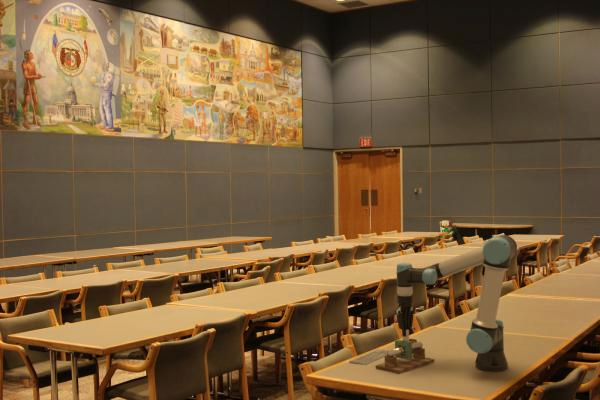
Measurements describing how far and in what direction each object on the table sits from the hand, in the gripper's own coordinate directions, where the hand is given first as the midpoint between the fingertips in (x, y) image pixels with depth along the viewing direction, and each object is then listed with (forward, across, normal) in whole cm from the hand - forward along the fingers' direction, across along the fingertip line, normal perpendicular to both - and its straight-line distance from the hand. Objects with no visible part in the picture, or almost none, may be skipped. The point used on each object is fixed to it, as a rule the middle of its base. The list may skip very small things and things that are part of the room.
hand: (405, 342), depth 338 cm
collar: (+7, +2, 0) cm, 7 cm away
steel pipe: (+5, +1, 0) cm, 5 cm away
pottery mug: (+11, -22, -14) cm, 28 cm away
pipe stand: (+11, +1, 0) cm, 11 cm away
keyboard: (+12, 0, -22) cm, 25 cm away
